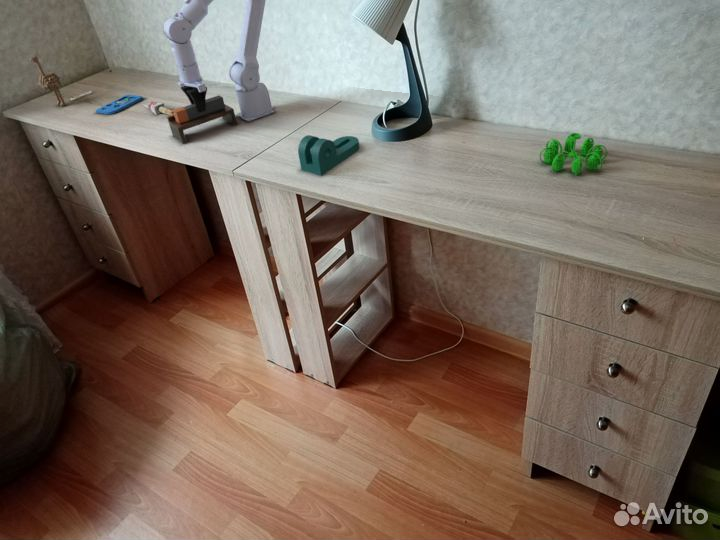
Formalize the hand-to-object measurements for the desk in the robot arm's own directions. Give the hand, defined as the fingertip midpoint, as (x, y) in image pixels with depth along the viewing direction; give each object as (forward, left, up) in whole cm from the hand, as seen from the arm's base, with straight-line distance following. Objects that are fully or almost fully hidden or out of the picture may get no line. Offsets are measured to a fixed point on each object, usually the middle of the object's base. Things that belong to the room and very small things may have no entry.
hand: (200, 110), depth 166 cm
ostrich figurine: (+23, -69, -7) cm, 73 cm away
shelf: (0, 0, -7) cm, 7 cm away
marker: (0, 0, -1) cm, 1 cm away
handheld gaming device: (+12, -47, -7) cm, 49 cm away
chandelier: (-53, +92, -7) cm, 106 cm away
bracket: (-16, +46, -7) cm, 49 cm away
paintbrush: (+4, -27, -7) cm, 28 cm away
